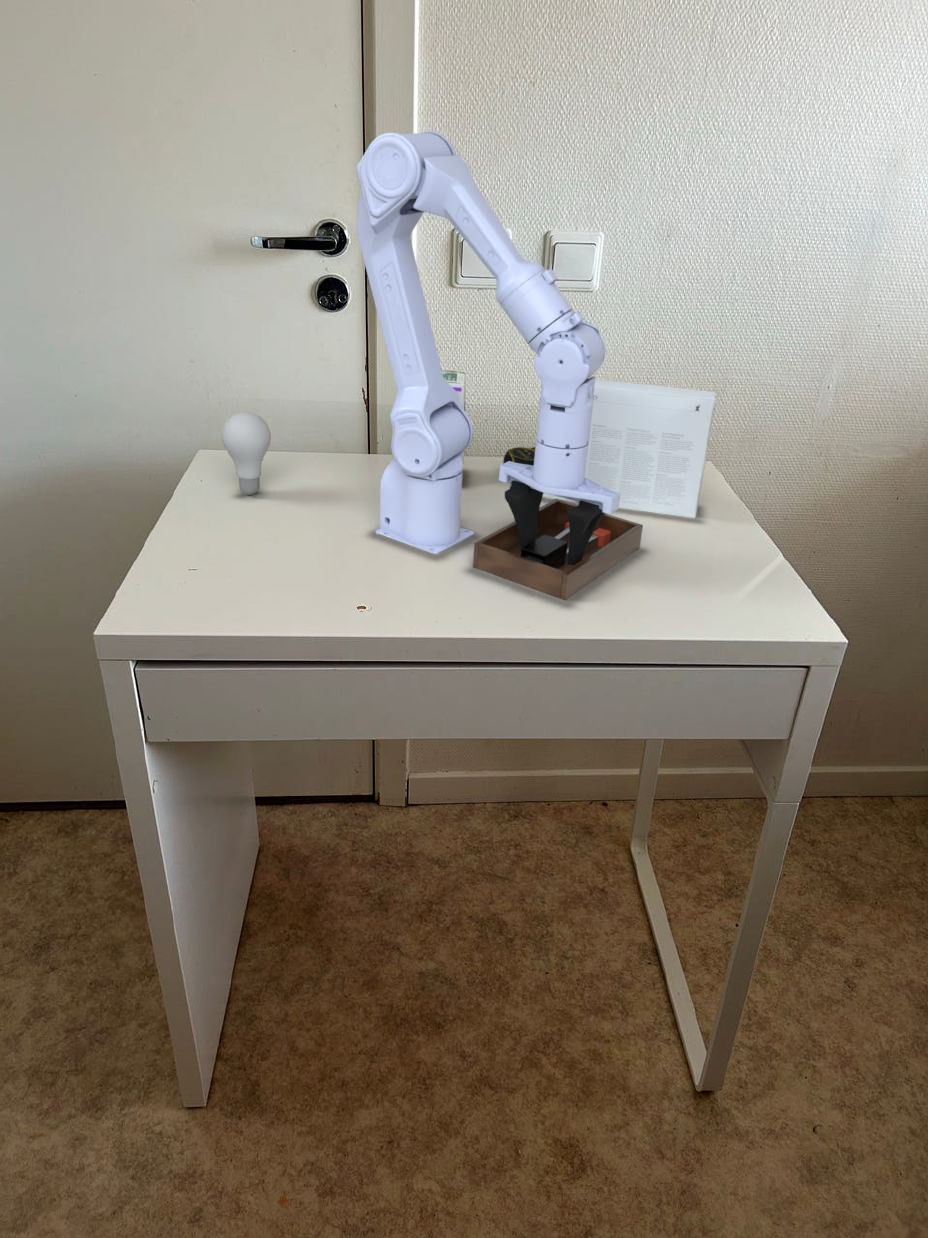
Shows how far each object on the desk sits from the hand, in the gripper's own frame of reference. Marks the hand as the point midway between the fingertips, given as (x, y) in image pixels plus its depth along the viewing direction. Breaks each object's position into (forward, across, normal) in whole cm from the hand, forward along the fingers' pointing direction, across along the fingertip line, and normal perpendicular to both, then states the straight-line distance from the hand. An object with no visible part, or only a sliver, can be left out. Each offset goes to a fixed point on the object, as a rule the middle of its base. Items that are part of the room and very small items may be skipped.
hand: (550, 553), depth 110 cm
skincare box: (+2, +3, -23) cm, 23 cm away
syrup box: (+2, +26, -14) cm, 30 cm away
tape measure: (+2, +17, -23) cm, 29 cm away
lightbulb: (+2, +41, +8) cm, 42 cm away
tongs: (+1, 0, -2) cm, 2 cm away
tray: (+2, 0, -2) cm, 3 cm away
